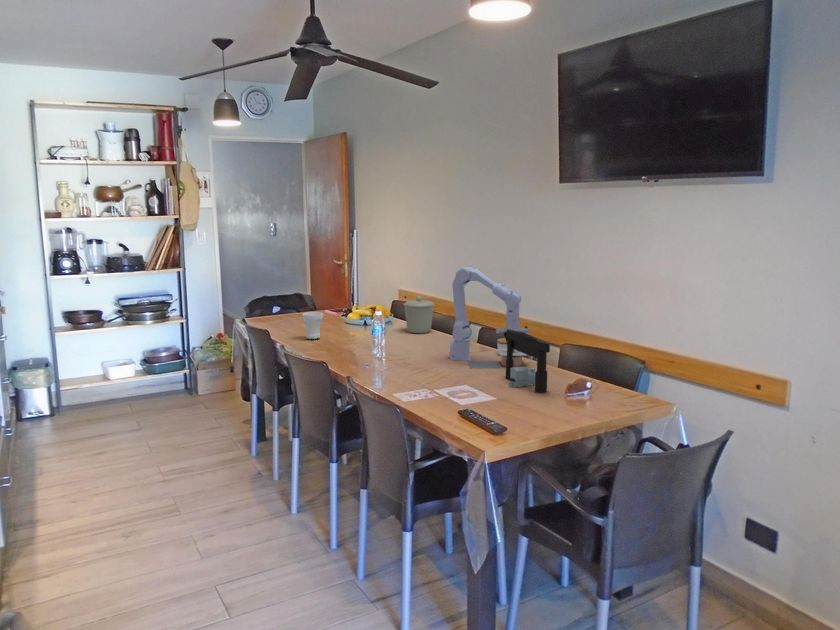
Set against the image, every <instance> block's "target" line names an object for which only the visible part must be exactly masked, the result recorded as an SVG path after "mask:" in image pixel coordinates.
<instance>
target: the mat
mask: <svg viewBox="0 0 840 630" xmlns="http://www.w3.org/2000/svg"><path fill="white" fill-rule="evenodd" d="M466 361H467V365H468V368H469V369H476V370H477V369H481V370H482V369H488V370H489V369H501V366H500V364H499V362H498V361H497V360H466Z"/></svg>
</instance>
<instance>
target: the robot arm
mask: <svg viewBox="0 0 840 630" xmlns="http://www.w3.org/2000/svg"><path fill="white" fill-rule="evenodd" d="M470 282H479V283H481V284H482V285H484V286H486V287H487V288H489V289H490V290H491V292H492V294H493V295H494V296H496V297H497V298H499V299H500V300H501V301H503V302H504V303H505V305H506V312H505V313H506V321H505V322H506V325H505V328H496V329H495V330H496V331H495V332H496V334H498V335H499V334H503V336H504V338H505V339H506V342H507V340H508V339H509V338H507V336H506V333H507V329H510V330H515V331H519V332H523V333H526V334H530V333H529V328H522V327H521V328H520V304H521V302H522V296H521V295H520V294H519V293H518V292H516V291H515V292H514V290H513V289H509V288H508V287H506V284H504V283H501V282H499V283H496V282H495V281H493V280H492V279H491V278H489V277H488V276H487V275H485V274H484V273H483V272H482V271H480V269H477V268H476V267H474V266H472V265H469V266H467V267H460V268H459V269H458V270H457V271H456V272H455V276H454V279H453V281H452V295H453V306H454V316H455V317H454V318H455V322H454V323H453V330H452V334H451V335H452V338H453V340H450V341H449V342H450V343H449V358H450V359H449V360H450V361H472V359H471V355H470V345H471V342H470V337H471V336H472V334H473V331H472V328H471V326H470V321H468V315H467V306H466V293H465V286H466V285H468V283H470Z"/></svg>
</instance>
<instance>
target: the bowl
mask: <svg viewBox="0 0 840 630" xmlns="http://www.w3.org/2000/svg"><path fill="white" fill-rule="evenodd" d="M500 359H501V363H500V364H501V365H502V366H505V367H506V359H507V356H500ZM513 361H514V362H513V368H514V367H522V365H523V356H513Z"/></svg>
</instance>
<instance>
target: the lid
mask: <svg viewBox="0 0 840 630" xmlns="http://www.w3.org/2000/svg"><path fill="white" fill-rule="evenodd" d="M496 350H497V353H498V354H499V355H500V357H501V356H507V349H498V348H497V349H496ZM513 356H522V357H528V355H527V354H524V353H522V352H519V351H517V350H515V349H513Z"/></svg>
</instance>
